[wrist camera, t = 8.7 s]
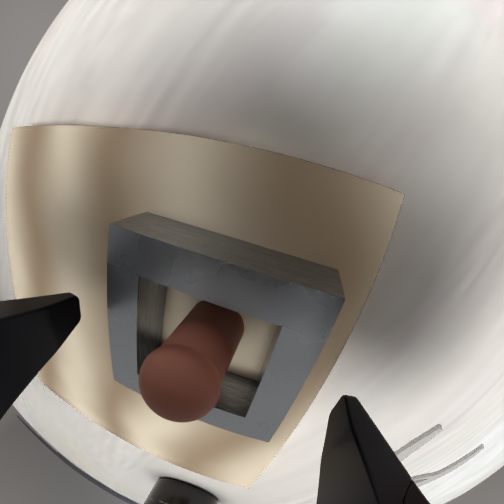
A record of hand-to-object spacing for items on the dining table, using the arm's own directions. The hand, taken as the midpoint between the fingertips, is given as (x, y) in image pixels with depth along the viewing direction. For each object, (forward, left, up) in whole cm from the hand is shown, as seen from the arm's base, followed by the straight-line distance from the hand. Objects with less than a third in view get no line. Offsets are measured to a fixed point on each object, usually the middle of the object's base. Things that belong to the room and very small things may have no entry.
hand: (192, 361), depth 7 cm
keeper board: (-5, -4, -4) cm, 7 cm away
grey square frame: (0, 0, -2) cm, 2 cm away
